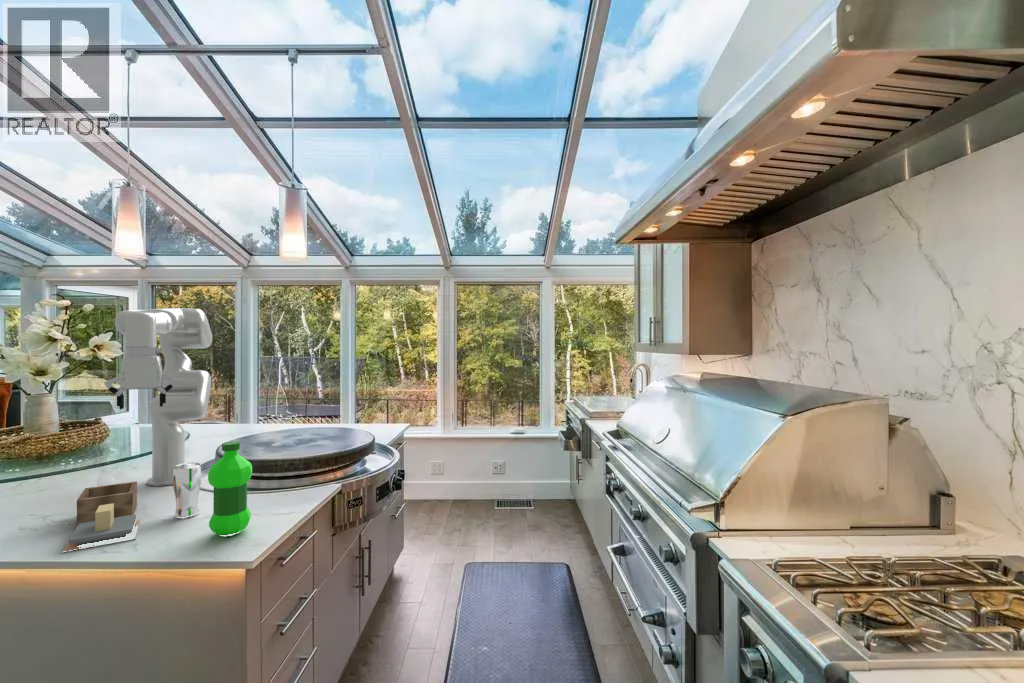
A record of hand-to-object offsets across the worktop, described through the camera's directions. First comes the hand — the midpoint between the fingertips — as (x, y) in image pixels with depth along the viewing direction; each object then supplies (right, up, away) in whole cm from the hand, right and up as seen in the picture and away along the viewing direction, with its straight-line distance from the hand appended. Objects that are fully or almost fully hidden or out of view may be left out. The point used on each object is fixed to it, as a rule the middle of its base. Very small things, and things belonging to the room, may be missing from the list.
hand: (142, 407), depth 142 cm
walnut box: (-4, -32, -7) cm, 33 cm away
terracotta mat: (+5, -32, -19) cm, 38 cm away
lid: (+6, -32, -19) cm, 37 cm away
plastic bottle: (+37, -33, -16) cm, 52 cm away
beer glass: (+17, -32, -4) cm, 37 cm away
